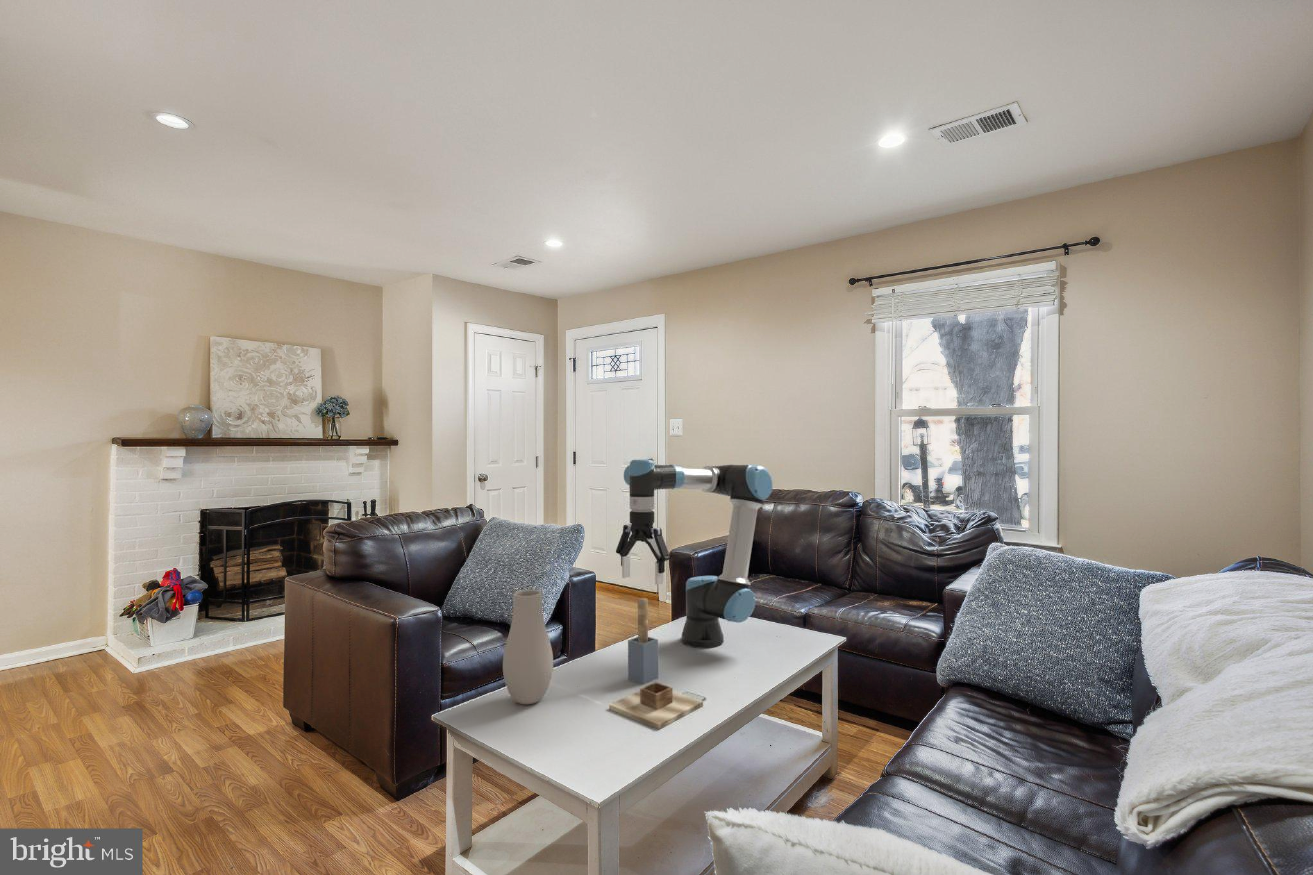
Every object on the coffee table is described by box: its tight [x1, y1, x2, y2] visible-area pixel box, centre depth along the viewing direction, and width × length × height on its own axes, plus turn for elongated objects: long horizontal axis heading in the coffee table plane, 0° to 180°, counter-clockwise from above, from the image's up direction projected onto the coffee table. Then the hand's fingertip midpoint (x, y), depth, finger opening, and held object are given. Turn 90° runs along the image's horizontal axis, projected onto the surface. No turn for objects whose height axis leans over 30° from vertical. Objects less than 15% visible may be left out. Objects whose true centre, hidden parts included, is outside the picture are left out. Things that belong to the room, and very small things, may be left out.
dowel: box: [637, 597, 649, 644], centre depth 185 cm, size 3×3×24 cm
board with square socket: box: [608, 681, 704, 730], centre depth 165 cm, size 18×18×5 cm
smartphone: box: [681, 691, 707, 702], centre depth 167 cm, size 7×1×15 cm
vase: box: [502, 589, 554, 705], centre depth 170 cm, size 14×14×30 cm
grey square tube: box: [627, 636, 659, 685], centre depth 185 cm, size 6×6×12 cm
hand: (642, 580), depth 185 cm, fingers open, 13 cm apart
